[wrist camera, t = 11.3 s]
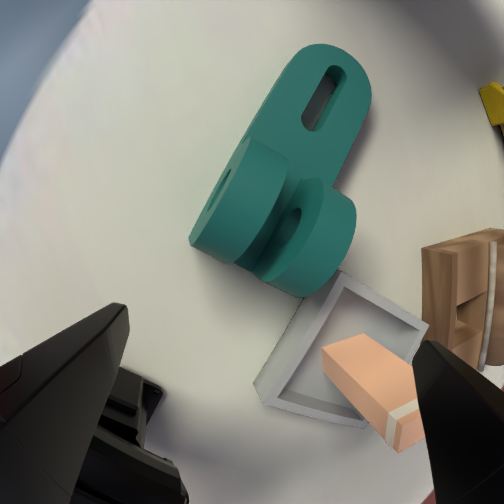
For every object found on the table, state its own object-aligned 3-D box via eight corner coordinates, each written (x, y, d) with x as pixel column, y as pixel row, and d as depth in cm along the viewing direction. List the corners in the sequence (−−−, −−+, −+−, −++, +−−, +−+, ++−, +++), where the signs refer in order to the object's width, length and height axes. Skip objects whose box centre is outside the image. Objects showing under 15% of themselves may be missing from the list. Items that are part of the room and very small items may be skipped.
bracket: (271, 278, 23) (315, 313, 16) (188, 236, 21) (192, 254, 14) (367, 87, 23) (427, 56, 15) (301, 41, 21) (345, -9, 13)
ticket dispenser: (417, 376, 28) (458, 404, 22) (421, 248, 26) (476, 260, 19) (484, 337, 31) (521, 354, 24) (490, 227, 28) (536, 234, 21)
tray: (348, 412, 27) (363, 428, 24) (253, 382, 24) (262, 403, 21) (409, 315, 26) (429, 325, 24) (322, 263, 24) (341, 271, 21)
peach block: (322, 372, 24) (396, 454, 14) (320, 347, 24) (401, 425, 13) (364, 357, 25) (447, 423, 14) (364, 332, 25) (454, 394, 14)
